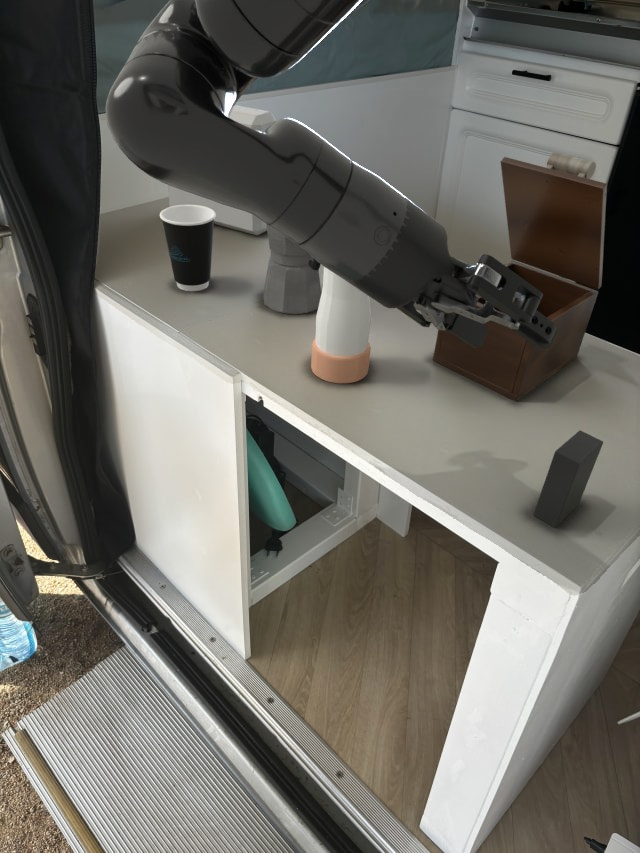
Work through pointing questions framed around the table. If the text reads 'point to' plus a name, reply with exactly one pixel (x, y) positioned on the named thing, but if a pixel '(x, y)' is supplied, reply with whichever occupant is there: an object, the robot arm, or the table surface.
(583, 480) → the tall charcoal box
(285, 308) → the coffeepot
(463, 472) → the table surface
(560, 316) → the chest
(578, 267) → the lid
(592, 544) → the table surface
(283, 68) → the robot arm
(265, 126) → the bevelled white case
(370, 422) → the table surface
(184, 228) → the dixie cup
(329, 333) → the pepper shaker
